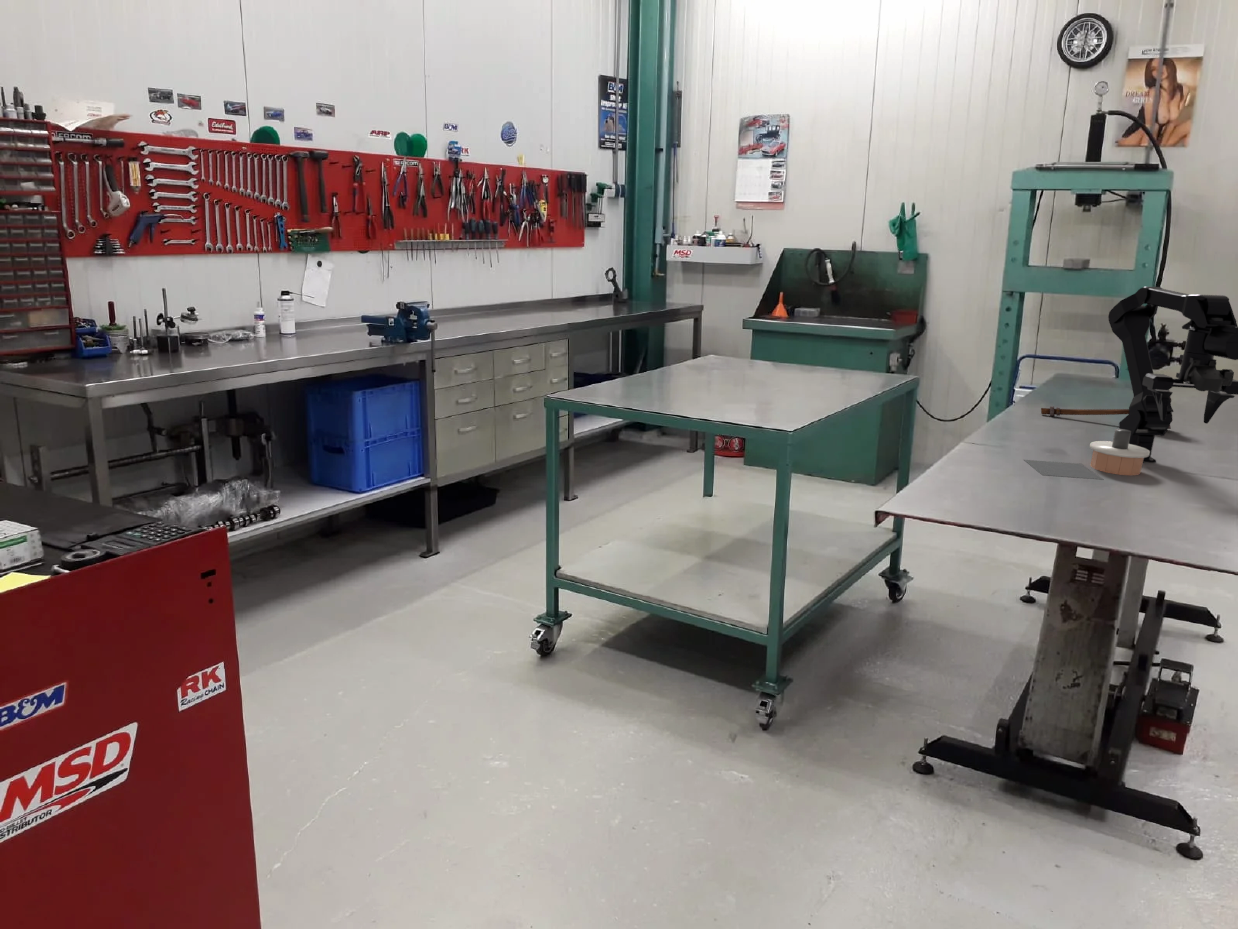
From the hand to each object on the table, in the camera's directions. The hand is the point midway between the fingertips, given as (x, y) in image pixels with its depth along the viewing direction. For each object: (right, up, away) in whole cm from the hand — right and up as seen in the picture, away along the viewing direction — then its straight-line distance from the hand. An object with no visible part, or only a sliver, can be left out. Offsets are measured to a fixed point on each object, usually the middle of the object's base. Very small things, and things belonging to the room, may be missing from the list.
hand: (1184, 421), depth 203 cm
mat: (-27, -11, +1) cm, 29 cm away
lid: (-13, -6, +2) cm, 15 cm away
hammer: (+11, +2, +55) cm, 56 cm away
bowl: (-14, -11, +4) cm, 18 cm away
